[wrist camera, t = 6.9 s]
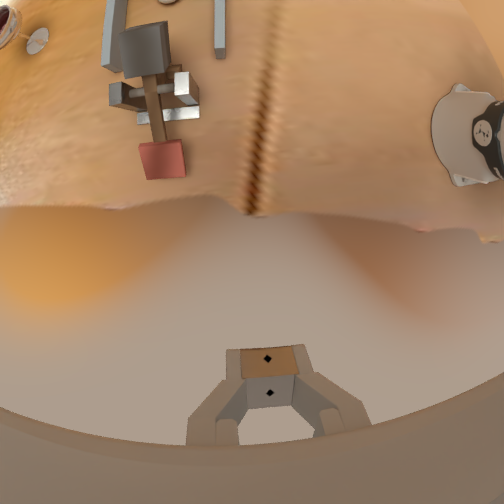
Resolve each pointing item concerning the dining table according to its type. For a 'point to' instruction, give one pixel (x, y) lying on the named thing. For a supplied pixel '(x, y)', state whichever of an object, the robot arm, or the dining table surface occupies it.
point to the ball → (166, 1)
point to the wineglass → (9, 24)
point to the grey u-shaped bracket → (116, 25)
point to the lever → (153, 94)
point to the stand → (183, 90)
